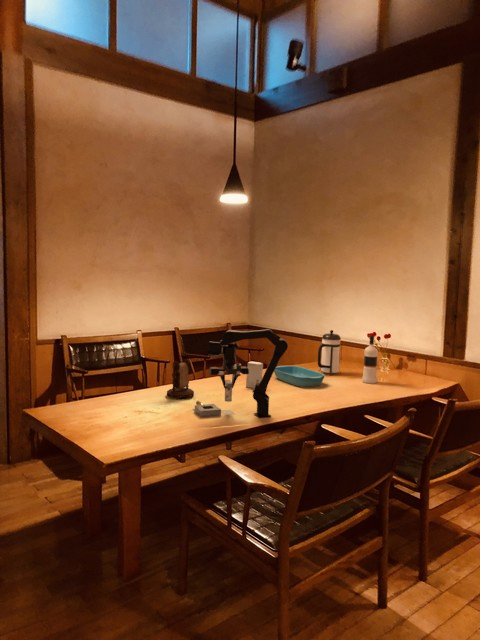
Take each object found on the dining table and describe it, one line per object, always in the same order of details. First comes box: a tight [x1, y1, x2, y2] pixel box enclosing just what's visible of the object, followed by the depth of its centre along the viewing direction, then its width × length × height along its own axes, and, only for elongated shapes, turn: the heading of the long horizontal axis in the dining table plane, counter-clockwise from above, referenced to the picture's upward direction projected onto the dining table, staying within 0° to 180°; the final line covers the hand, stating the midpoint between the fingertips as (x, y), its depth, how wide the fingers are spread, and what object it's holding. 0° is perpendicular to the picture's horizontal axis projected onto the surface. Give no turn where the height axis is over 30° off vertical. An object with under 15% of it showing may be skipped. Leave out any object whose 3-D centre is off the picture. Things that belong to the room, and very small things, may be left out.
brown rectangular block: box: [224, 379, 233, 403], centre depth 252 cm, size 4×8×9 cm, turn 10°
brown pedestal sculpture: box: [166, 359, 195, 400], centre depth 282 cm, size 15×15×20 cm
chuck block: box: [192, 400, 222, 418], centre depth 255 cm, size 20×10×4 cm, turn 22°
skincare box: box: [245, 361, 264, 389], centre depth 309 cm, size 8×6×15 cm
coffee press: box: [317, 329, 342, 376], centre depth 353 cm, size 17×16×30 cm
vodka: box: [361, 335, 379, 385], centre depth 331 cm, size 9×9×30 cm
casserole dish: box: [273, 365, 326, 388], centre depth 328 cm, size 37×22×7 cm, turn 32°
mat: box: [221, 409, 236, 416], centre depth 254 cm, size 8×6×1 cm
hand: (228, 388), depth 252 cm, fingers closed on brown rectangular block, 3 cm apart
